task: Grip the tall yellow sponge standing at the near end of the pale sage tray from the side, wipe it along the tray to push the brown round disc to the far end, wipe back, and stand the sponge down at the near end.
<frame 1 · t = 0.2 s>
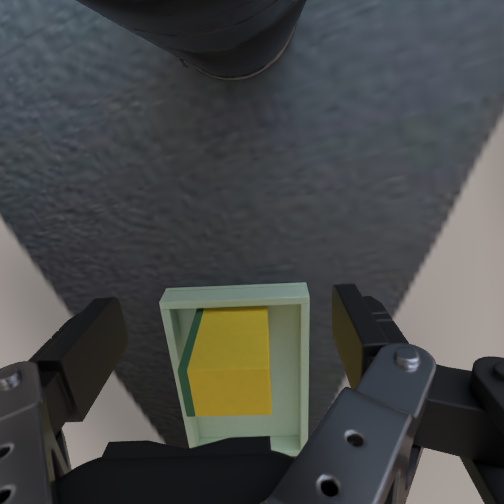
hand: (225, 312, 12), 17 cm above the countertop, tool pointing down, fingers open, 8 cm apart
sponge: (238, 321, 33), point 1 cm above the countertop, touching tray
tray: (243, 369, 36), on the countertop
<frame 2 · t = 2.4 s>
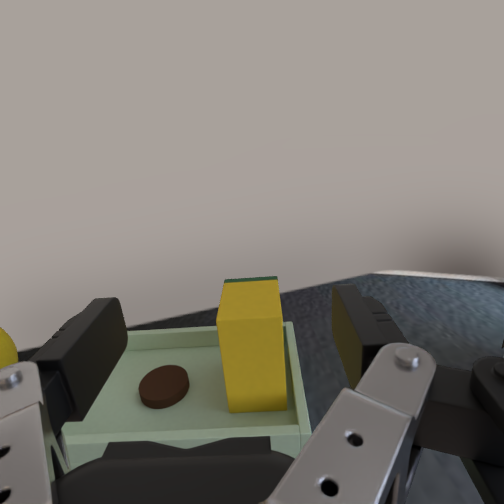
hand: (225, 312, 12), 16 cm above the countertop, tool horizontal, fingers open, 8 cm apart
brown round disc: (165, 389, 30), point 1 cm above the countertop, touching tray
sponge: (258, 385, 30), point 1 cm above the countertop, touching tray
tray: (182, 394, 30), on the countertop
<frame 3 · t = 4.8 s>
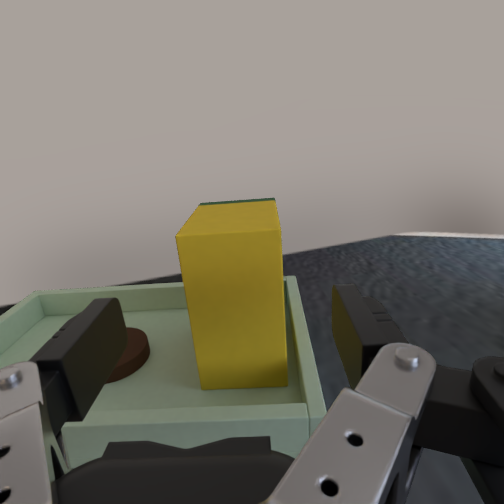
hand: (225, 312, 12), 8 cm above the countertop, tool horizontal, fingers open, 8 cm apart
brown round disc: (115, 359, 21), point 1 cm above the countertop, touching tray
sponge: (246, 353, 21), point 1 cm above the countertop, touching tray
tray: (139, 366, 21), on the countertop
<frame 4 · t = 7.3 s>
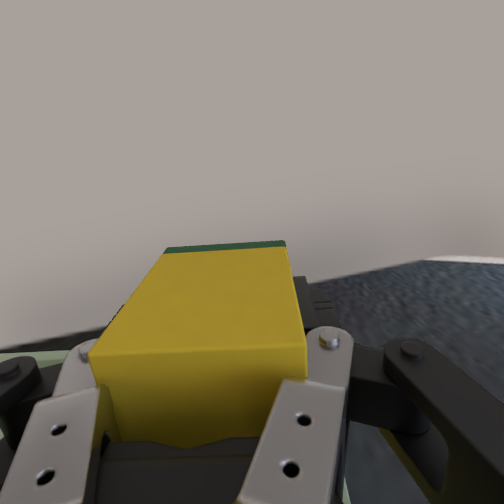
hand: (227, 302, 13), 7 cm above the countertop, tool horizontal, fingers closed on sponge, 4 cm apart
sponge: (239, 487, 13), point 1 cm above the countertop, touching gripper, tray
tray: (73, 502, 14), on the countertop
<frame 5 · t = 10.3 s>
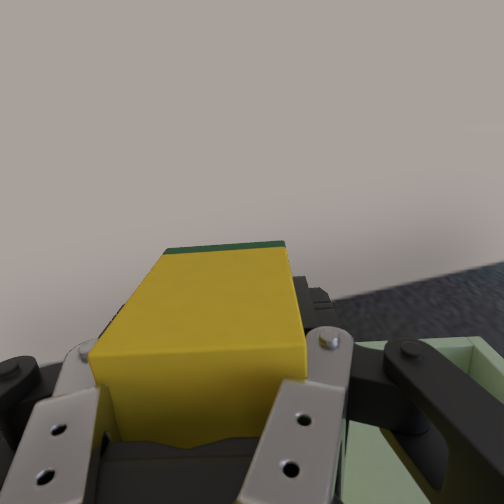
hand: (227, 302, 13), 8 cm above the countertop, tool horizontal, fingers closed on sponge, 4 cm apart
sponge: (240, 488, 13), point 1 cm above the countertop, touching brown round disc, gripper
when the fingers open (8 cm above the countertop, at t = 13.1 s): sponge stays where it is, resting on tray.
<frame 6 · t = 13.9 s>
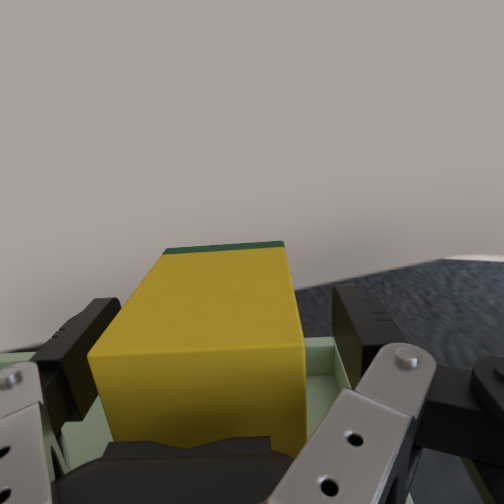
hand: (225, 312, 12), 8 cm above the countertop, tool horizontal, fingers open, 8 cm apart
sponge: (239, 487, 13), point 1 cm above the countertop, touching tray
tray: (120, 500, 14), on the countertop
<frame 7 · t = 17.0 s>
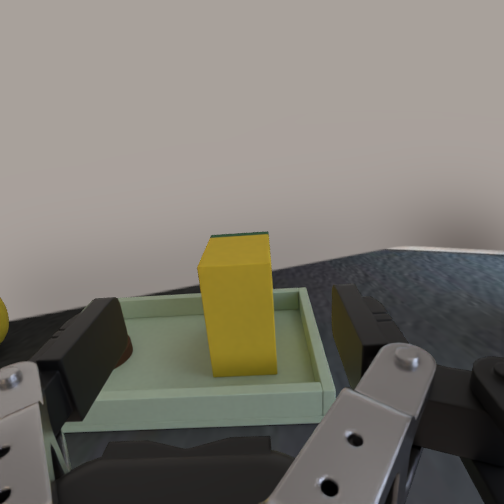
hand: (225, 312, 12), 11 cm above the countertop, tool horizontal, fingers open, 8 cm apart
brown round disc: (105, 356, 28), point 1 cm above the countertop, touching tray
sponge: (246, 350, 27), point 1 cm above the countertop, touching tray
tray: (187, 359, 27), on the countertop
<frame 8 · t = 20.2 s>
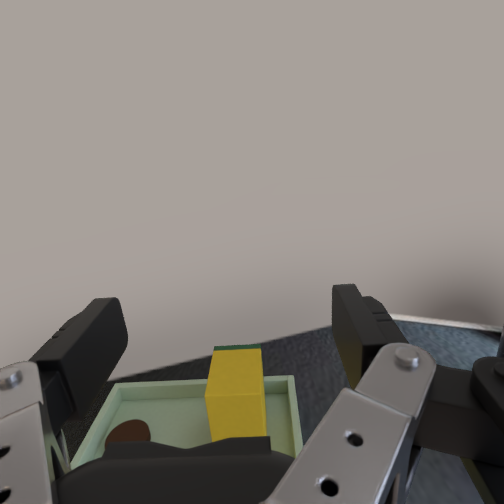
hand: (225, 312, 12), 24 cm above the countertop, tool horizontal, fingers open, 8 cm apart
brown round disc: (129, 443, 34), point 1 cm above the countertop, touching tray
sponge: (243, 440, 33), point 1 cm above the countertop, touching tray
tray: (195, 446, 34), on the countertop
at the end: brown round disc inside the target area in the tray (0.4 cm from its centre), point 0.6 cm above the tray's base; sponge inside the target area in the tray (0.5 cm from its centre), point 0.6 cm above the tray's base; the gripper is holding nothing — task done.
